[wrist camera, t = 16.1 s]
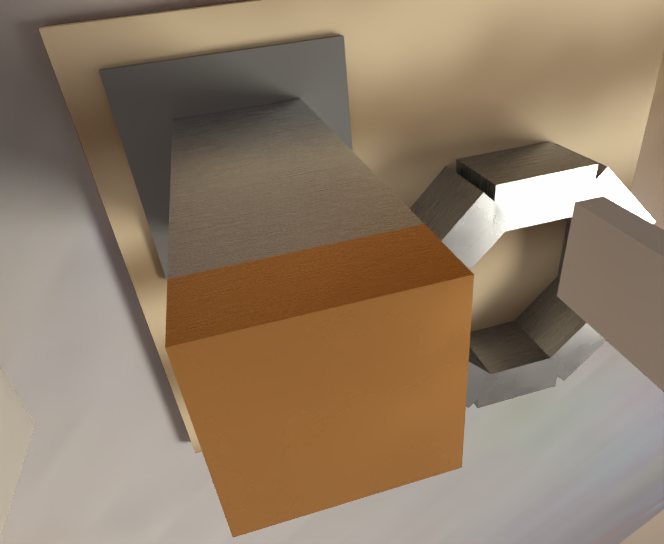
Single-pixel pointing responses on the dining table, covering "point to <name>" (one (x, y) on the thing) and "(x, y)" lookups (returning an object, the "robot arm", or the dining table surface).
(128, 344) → the dining table surface
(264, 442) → the block
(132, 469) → the dining table surface
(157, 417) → the dining table surface
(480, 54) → the board
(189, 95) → the pad
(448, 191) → the grey octagonal ring
